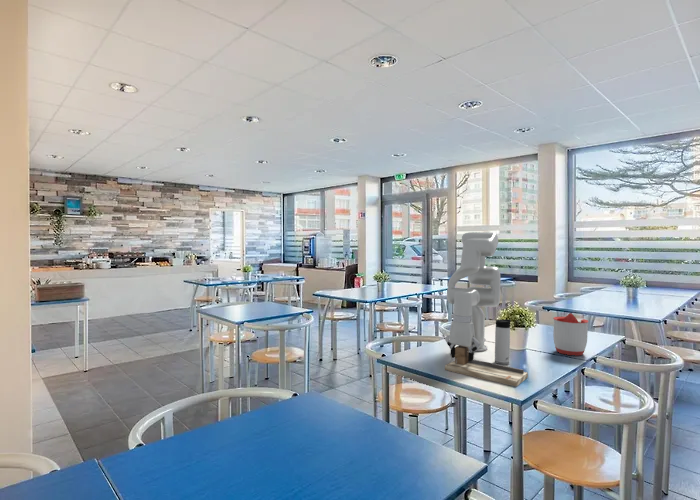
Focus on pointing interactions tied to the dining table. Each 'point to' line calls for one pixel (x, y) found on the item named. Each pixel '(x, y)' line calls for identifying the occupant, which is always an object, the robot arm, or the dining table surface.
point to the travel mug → (502, 341)
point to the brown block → (461, 355)
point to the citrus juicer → (570, 335)
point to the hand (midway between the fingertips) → (461, 358)
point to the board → (489, 372)
